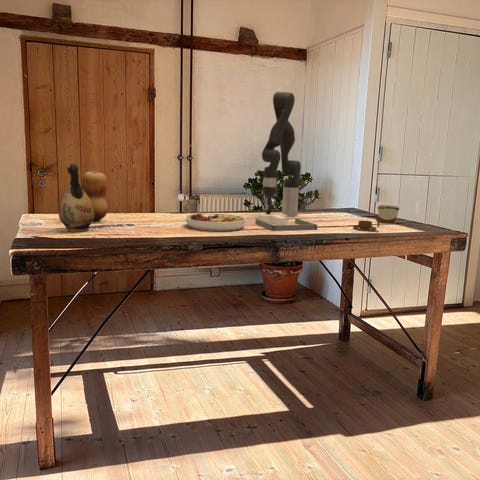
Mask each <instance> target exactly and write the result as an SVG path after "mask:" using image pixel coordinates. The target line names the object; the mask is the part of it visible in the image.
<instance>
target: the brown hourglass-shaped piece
mask: <svg viewBox="0 0 480 480" xmlns="http://www.w3.org/2000/svg"><path fill="white" fill-rule="evenodd" d="M107 183H108V181H107V176H106V175H105V174H104V173H103V172H99V171H86V172H85V173H84V174H83V176H82V180H81V187H82V188H83V189H84V191H85V192H86V194H87V195H88V196H89V198H90V200H91V201H92V204H93V207H94V212H95V216H94V220H93V222H100V221H101V220H103V219H104V217H106V216H107V213H108V203H107V200H106V194H107V189H108V188H107Z"/></svg>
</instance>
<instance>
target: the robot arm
mask: <svg viewBox="0 0 480 480" xmlns="http://www.w3.org/2000/svg"><path fill="white" fill-rule="evenodd" d="M295 101H296V99H295V95H294V94H293V92H288V91H286V92H285V91H284V92H281V91H276V92H275V93H274V94H273V97H272V104H273V109H274V115H275V119H276V122H275V123H274V124H273V126H272V127H271V130H270V132H269V136H268V140H267V142H266V144H265V147H264V148H263V150H262V152H261V158H262V161H264V162H265V163H269V165H268V166H265V167H264V169H263V181H262V194H263V195H264V198H262V203H263V206H264V209H265V214H272V213H271V211H272V210H274V207H275V204H276V201H275V200H274V199H275V198H274V195H277V182H278V181H277V174H278V173H277V172H278V168H279V164H280V162H281V172H282V174H283V176H289V177H292V178H291V179H290V180H287V181H284V183H283V190H282V193H283V194H282V195H283V196H282V206H281V207H282V208H281V214H285V215H287V217H297V216H298V205H299V191H300V189H299V188H300V187H299V186H300V182H301V181H300V179H301V177H300V176H301V170H302V165H301V161H299V160H289V154H290V151H291V149H292V148H293V147H294V144H295V142H296V136H295V135H296V134H295V129H294V127H293V125H292V124H291V122H290V121H289V118H290V116H291V114H292V111H293V109H294V106H295ZM277 147H280V151H279V150H277V149H275V148H277Z"/></svg>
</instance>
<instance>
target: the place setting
mask: <svg viewBox="0 0 480 480" xmlns="http://www.w3.org/2000/svg"><path fill="white" fill-rule="evenodd" d="M375 221H376V223H377V224H376V225H377V227H376V226H373V222H372V221H370V220H358V222H357V223H358V224H357V225H354V226H353V227H352V228H353V230H355V231H359V232H372V233H379V232H380V231H379V230H377V228H380V223H379V222H381V217H378V216H376V219H375Z"/></svg>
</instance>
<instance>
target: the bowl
mask: <svg viewBox="0 0 480 480" xmlns="http://www.w3.org/2000/svg"><path fill="white" fill-rule="evenodd" d="M246 220H247V219H246V218H245V217H243V216H240V215H235V214H225V213H201V212H198V213H193V214H190V215H187V216H185V223H186V225H187V226H189V227H190V228H192V229H194V230H198V229H199V231H206V230H208V231H207V232H229V231H230V230H233V231H236V230H237V229H238V230H239V229H242V228H243V227H244V226H245V224H246V222H247V221H246ZM238 230H237V231H238ZM230 232H231V231H230Z"/></svg>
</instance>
